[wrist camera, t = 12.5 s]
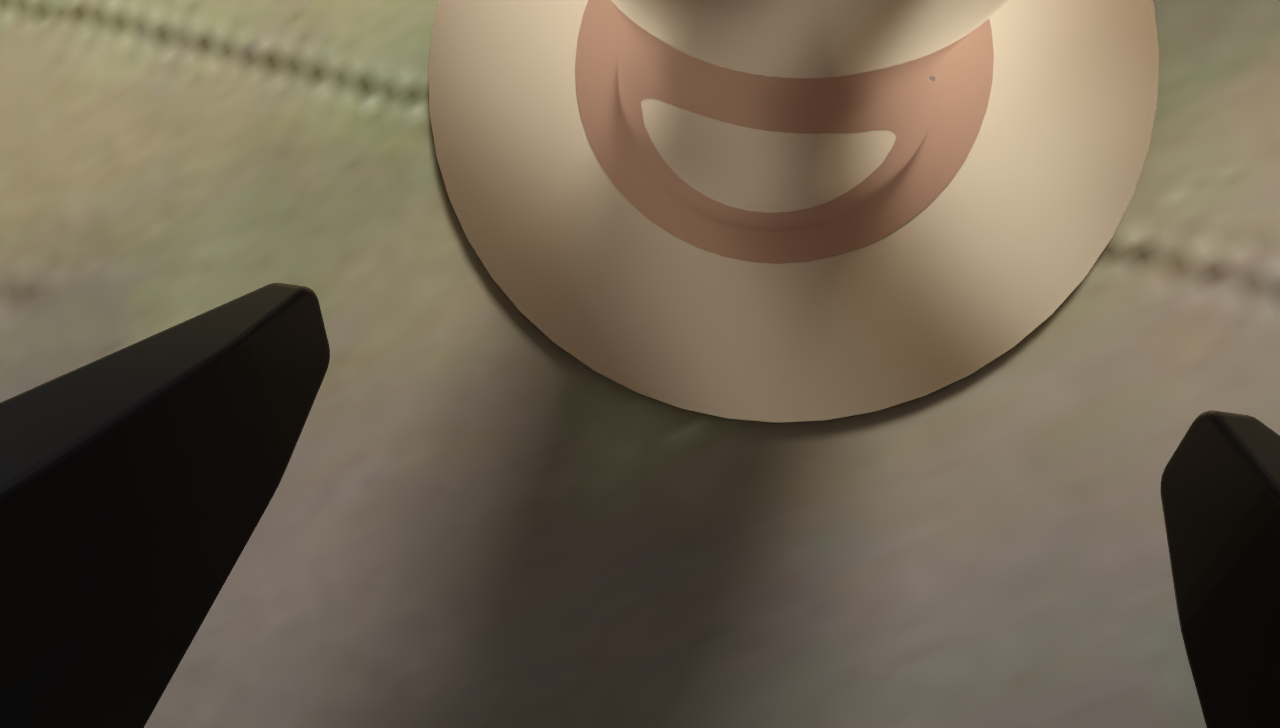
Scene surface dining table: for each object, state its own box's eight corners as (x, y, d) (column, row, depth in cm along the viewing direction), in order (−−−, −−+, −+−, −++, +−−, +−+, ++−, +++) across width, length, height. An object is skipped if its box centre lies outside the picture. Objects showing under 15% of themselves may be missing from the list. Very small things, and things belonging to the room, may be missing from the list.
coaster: (707, 571, 16) (706, 574, 16) (305, 17, 18) (296, 9, 18) (1314, 123, 16) (1326, 115, 16) (844, -391, 18) (846, -408, 18)
